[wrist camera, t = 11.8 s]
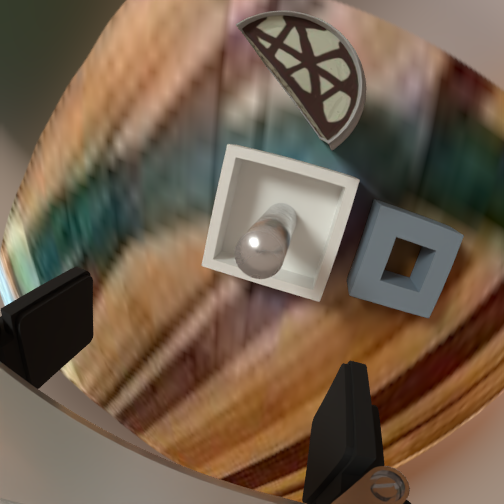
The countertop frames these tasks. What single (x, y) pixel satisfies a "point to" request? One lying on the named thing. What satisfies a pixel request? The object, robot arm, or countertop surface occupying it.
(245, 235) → the steel pin
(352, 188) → the parts tray
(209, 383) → the countertop surface
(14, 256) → the countertop surface
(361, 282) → the block
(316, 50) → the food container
